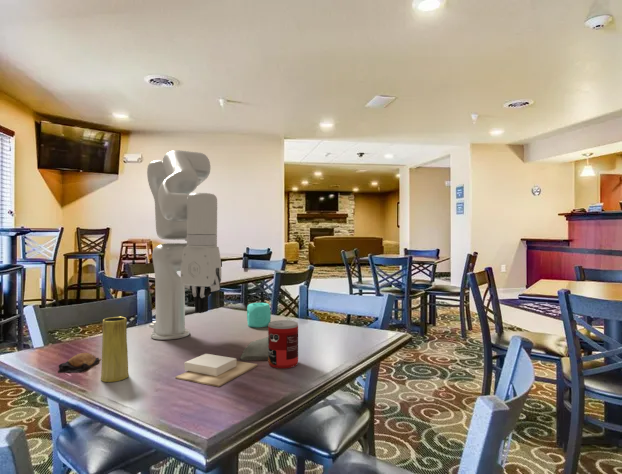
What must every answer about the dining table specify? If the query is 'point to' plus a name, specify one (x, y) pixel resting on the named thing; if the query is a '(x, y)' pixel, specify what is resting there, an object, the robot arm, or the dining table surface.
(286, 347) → the canned food
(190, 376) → the mat
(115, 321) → the vase
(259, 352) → the stone slab
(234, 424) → the dining table surface
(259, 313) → the decorative dice
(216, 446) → the dining table surface
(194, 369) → the tile
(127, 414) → the dining table surface
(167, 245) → the robot arm
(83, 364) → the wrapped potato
